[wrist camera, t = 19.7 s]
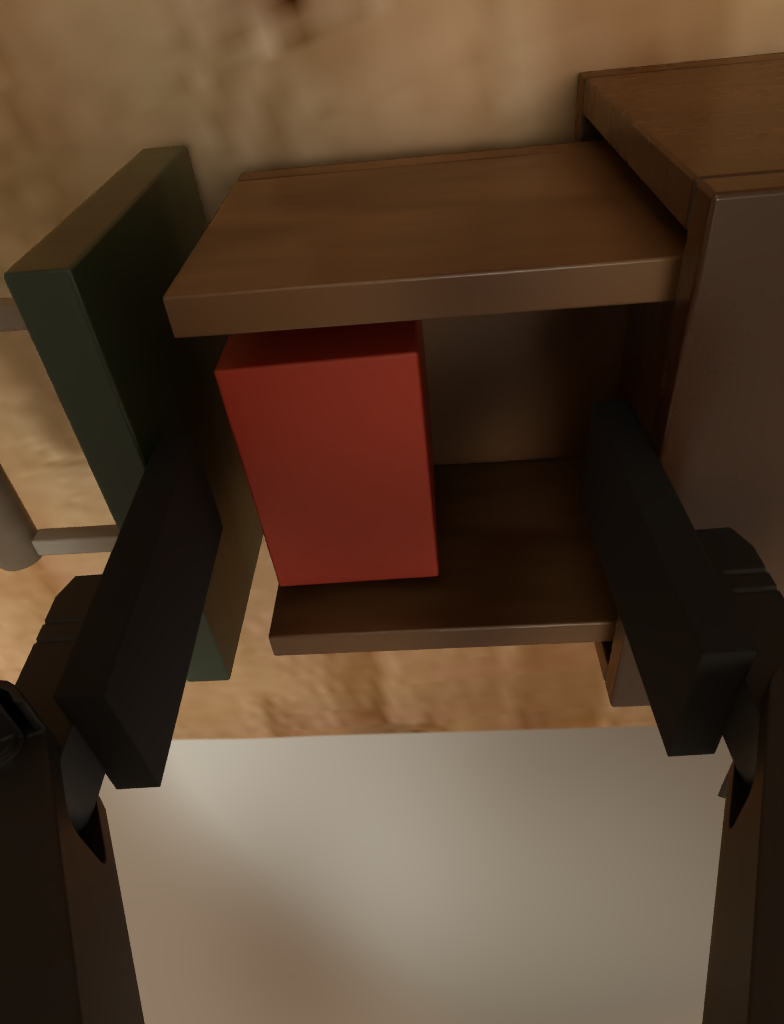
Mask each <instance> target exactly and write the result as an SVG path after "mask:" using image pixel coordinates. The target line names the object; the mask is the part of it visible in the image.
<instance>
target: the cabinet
mask: <svg viewBox="0 0 784 1024" xmlns="http://www.w3.org/2000/svg"><path fill="white" fill-rule="evenodd" d="M598 140H607V141H608V143H609V144H610V145H611V146H612V147H613V148H614V149H615V150H616V151H617V153H618V154H619V155H620V156H621V157H622V158H623V159H624V160H625V162H626V163H627V164H628V165H629V166H630V167H631V168H632V169H633V171H634V172H635V173H636V174H637V175H638V176H639V177H640V178H641V180H642V181H643V182H644V183H645V184H646V185H647V186H648V187H649V189H650V190H651V191H652V192H653V193H654V194H655V195H656V196H657V197H658V199H659V200H660V201H661V202H662V203H663V204H664V205H665V206H666V208H667V209H668V210H669V211H670V212H671V213H672V214H673V215H674V217H675V218H676V219H677V220H678V221H679V222H680V223H681V224H682V226H683V227H684V228H685V229H687V230H688V232H687V238H686V243H685V249H684V254H683V260H682V265H681V271H680V276H679V282H678V287H677V293H676V298H675V304H674V309H673V315H672V320H671V326H670V331H669V337H668V342H667V348H666V353H665V359H664V364H663V370H662V375H661V381H660V386H659V392H658V397H657V403H656V408H655V414H654V419H653V425H652V430H651V436H650V443H651V444H652V446H653V448H654V450H655V452H656V454H657V457H658V459H659V460H660V462H661V464H662V466H663V468H664V470H665V472H666V474H667V476H668V478H669V480H670V482H671V484H672V485H673V487H674V489H675V491H676V493H677V495H678V497H679V499H680V501H681V503H682V505H683V507H684V509H685V511H686V513H687V515H688V517H689V519H690V521H691V523H692V525H693V526H694V528H695V530H699V529H712V528H726V527H731V528H732V529H733V530H734V531H736V532H737V533H738V534H739V535H740V536H742V537H743V538H744V539H745V540H747V541H748V542H749V543H750V544H751V545H753V546H754V548H755V550H756V551H757V553H758V555H759V557H760V558H761V560H762V562H763V563H764V565H765V567H766V572H767V573H769V574H770V575H771V577H772V579H773V580H774V582H775V584H776V585H777V591H780V592H781V594H782V596H783V597H784V53H775V54H765V55H755V56H744V57H734V58H724V59H714V60H704V61H693V62H683V63H673V64H663V65H653V66H642V67H632V68H622V69H612V70H602V71H591V72H581V73H580V74H579V81H578V94H577V108H576V122H575V135H574V143H576V142H587V141H598ZM594 643H595V647H596V651H597V654H598V658H599V662H600V666H601V670H602V674H603V678H604V680H605V681H606V683H605V684H606V688H607V692H608V696H609V700H610V703H611V705H612V706H613V707H626V706H650V703H649V700H648V697H647V694H646V691H645V688H644V685H643V682H642V679H641V677H640V674H639V671H638V668H637V665H636V662H635V659H634V656H633V653H632V650H631V647H630V645H629V642H628V639H627V636H626V633H625V630H624V627H623V624H622V621H621V618H620V616H619V613H618V617H617V622H616V628H615V633H614V639H613V641H603V642H594Z"/></svg>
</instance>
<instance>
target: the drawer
mask: <svg viewBox="0 0 784 1024" xmlns="http://www.w3.org/2000/svg"><path fill="white" fill-rule="evenodd" d="M687 232H688V230H687V229H685V228H684V227H683V226H682V224H681V223H680V222H679V221H678V220H677V219H676V218H675V217H674V215H673V214H672V213H671V212H670V211H669V210H668V209H667V208H666V206H665V205H664V204H663V203H662V202H661V201H660V200H659V199H658V197H657V196H656V195H655V194H654V193H653V192H652V191H651V190H650V189H649V187H648V186H647V185H646V184H645V183H644V182H643V181H642V180H641V178H640V177H639V176H638V175H637V174H636V173H635V172H634V171H633V169H632V168H631V167H630V166H629V165H628V164H627V163H626V162H625V160H624V159H623V158H622V157H621V156H620V155H619V154H618V153H617V151H616V150H615V149H614V148H613V147H612V146H611V145H610V144H609V143H608V141H607V140H598V141H587V142H576V143H566V144H555V145H544V146H533V147H522V148H511V149H500V150H489V151H478V152H467V153H456V154H445V155H434V156H423V157H412V158H401V159H390V160H379V161H368V162H357V163H346V164H335V165H324V166H314V167H303V168H292V169H281V170H270V171H259V172H248V173H243V174H241V176H240V177H239V179H238V181H237V182H236V183H235V184H234V186H233V188H232V189H231V191H230V192H229V194H228V195H227V197H226V199H225V200H224V202H223V203H222V205H221V206H220V208H219V210H218V211H217V213H216V214H215V216H214V217H213V219H212V221H211V222H210V224H209V225H208V227H207V224H206V220H205V216H204V213H203V209H202V205H201V201H200V197H199V193H198V189H197V185H196V181H195V177H194V173H193V169H192V165H191V161H190V157H189V153H188V149H187V147H186V146H184V145H182V146H172V147H161V148H150V149H143V150H142V151H141V152H140V153H139V154H137V155H136V156H135V157H134V158H133V159H132V160H131V161H130V162H128V163H127V164H126V165H125V166H124V167H123V168H122V169H121V170H119V171H118V172H117V173H116V174H115V175H114V176H113V177H112V178H110V179H109V180H108V181H107V182H106V183H105V184H104V185H103V186H101V187H100V188H99V189H98V190H97V191H96V192H95V193H94V194H93V195H91V196H90V197H89V198H88V199H87V200H86V201H85V202H84V203H82V204H81V205H80V206H79V207H78V208H77V209H76V210H75V211H73V212H72V213H71V214H70V215H69V216H68V217H67V218H66V219H64V220H63V221H62V222H61V223H60V224H59V225H58V226H57V227H55V228H54V229H53V230H52V231H51V232H50V233H49V234H48V235H46V236H45V237H44V238H43V239H42V240H41V241H40V242H39V243H37V244H36V245H35V246H34V247H33V248H32V249H31V250H30V251H29V252H27V253H26V254H25V255H24V256H23V257H22V258H21V259H20V260H18V261H17V262H16V263H15V264H14V265H13V266H12V267H11V268H9V269H8V270H7V271H6V272H5V273H4V280H5V282H6V284H7V286H8V288H9V291H10V293H11V295H12V297H13V298H1V299H0V332H5V331H18V330H28V332H29V334H30V337H31V339H32V341H33V343H34V345H35V347H36V350H37V352H38V354H39V356H40V358H41V361H42V363H43V365H44V367H45V369H46V372H47V374H48V376H49V378H50V380H51V383H52V385H53V387H54V389H55V391H56V393H57V396H58V398H59V400H60V402H61V404H62V407H63V409H64V411H65V413H66V415H67V418H68V420H69V422H70V424H71V426H72V429H73V431H74V433H75V435H76V437H77V439H78V442H79V444H80V446H81V448H82V450H83V453H84V455H85V457H86V459H87V461H88V464H89V466H90V468H91V470H92V472H93V475H94V477H95V479H96V481H97V483H98V485H99V488H100V490H101V492H102V494H103V496H104V499H105V501H106V503H107V505H108V507H109V510H110V512H111V514H112V516H113V518H114V521H115V523H116V525H102V526H85V527H67V528H50V529H39V530H37V528H36V526H35V525H34V523H33V521H32V519H31V517H30V516H29V514H28V512H27V510H26V508H25V507H24V505H23V503H22V501H21V500H20V498H19V496H18V494H17V492H16V491H15V489H14V487H13V485H12V483H11V482H10V480H9V478H8V476H7V474H6V473H5V471H4V469H3V467H2V465H1V464H0V568H1V569H3V570H6V571H17V570H21V569H24V568H27V567H29V566H31V565H33V564H34V563H36V562H37V561H38V560H39V559H40V558H41V557H42V556H43V555H59V554H78V553H96V552H112V550H113V547H114V545H115V542H116V540H117V537H118V535H119V532H120V530H121V527H122V525H123V523H124V520H125V518H126V515H127V513H128V510H129V508H130V505H131V503H132V500H133V498H134V495H135V493H136V490H137V488H138V486H139V483H140V481H141V478H142V476H143V473H144V471H145V468H146V466H147V463H148V461H149V458H150V456H151V454H152V451H153V449H154V446H155V444H156V441H157V439H158V437H163V436H176V435H188V434H193V436H194V439H195V442H196V445H197V449H198V452H199V455H200V458H201V461H202V464H203V467H204V470H205V473H206V476H207V479H208V482H209V485H210V488H211V491H212V494H213V497H214V500H215V503H216V506H217V510H218V513H219V516H220V519H221V522H222V525H223V531H222V535H221V539H220V543H219V547H218V551H217V555H216V559H215V563H214V568H213V572H212V576H211V580H210V584H209V588H208V592H207V596H206V600H205V605H204V609H203V613H202V617H201V621H200V625H199V629H198V633H197V638H196V642H195V646H194V650H193V654H192V658H191V662H190V666H189V670H188V675H187V680H188V681H190V682H194V681H218V680H229V679H230V676H231V672H232V667H233V663H234V659H235V654H236V650H237V646H238V641H239V637H240V633H241V628H242V624H243V620H244V615H245V611H246V607H247V602H248V598H249V594H250V589H251V585H252V581H253V576H254V572H255V568H256V563H257V559H258V555H259V550H260V546H261V542H262V537H263V530H262V527H261V523H260V520H259V517H258V514H257V510H256V507H255V504H254V501H253V497H252V494H251V491H250V488H249V484H248V481H247V478H246V475H245V471H244V468H243V465H242V462H241V458H240V455H239V452H238V449H237V445H236V442H235V439H234V436H233V432H232V429H231V426H230V423H229V419H228V416H227V413H226V410H225V406H224V403H223V400H222V397H221V393H220V390H219V387H218V384H217V380H216V377H215V374H214V370H215V368H216V365H217V363H218V361H219V358H220V356H221V354H222V351H223V349H224V346H225V344H226V342H227V339H228V337H229V335H230V334H239V333H252V332H265V331H279V330H292V329H305V328H319V327H332V326H345V325H358V324H372V323H385V322H398V321H411V320H422V328H423V339H424V350H425V362H426V373H427V385H428V396H429V408H430V419H431V431H432V442H433V461H434V481H435V501H436V521H437V541H438V560H439V574H438V576H434V577H418V578H403V579H388V580H373V581H357V582H342V583H327V584H312V585H297V586H280V585H278V591H277V596H276V601H275V607H274V612H273V617H272V622H271V628H270V633H269V640H270V643H271V646H272V650H273V653H274V655H276V656H280V655H303V654H326V653H349V652H372V651H395V650H418V649H441V648H465V647H488V646H511V645H534V644H557V643H580V642H603V641H613V639H614V633H615V628H616V622H617V617H618V610H617V607H616V604H615V601H614V598H613V595H612V592H611V589H610V587H609V584H608V581H607V578H606V575H605V572H604V569H603V566H602V563H601V560H600V558H599V555H598V552H597V549H596V546H595V543H594V540H593V537H592V534H591V531H590V528H589V526H588V523H587V520H586V517H585V514H584V511H583V508H582V505H581V502H580V496H581V487H582V479H583V471H584V463H585V455H586V447H587V438H588V430H589V422H590V414H591V406H592V402H599V401H611V400H623V399H628V400H629V402H630V403H631V405H632V407H633V409H634V411H635V413H636V415H637V417H638V419H639V421H640V423H641V425H642V427H643V429H644V431H645V433H646V435H647V437H648V439H649V441H650V436H651V430H652V425H653V419H654V414H655V408H656V403H657V397H658V392H659V386H660V381H661V375H662V370H663V364H664V359H665V353H666V348H667V342H668V337H669V331H670V326H671V320H672V315H673V309H674V304H675V298H676V293H677V287H678V282H679V276H680V271H681V265H682V260H683V254H684V249H685V243H686V238H687Z"/></svg>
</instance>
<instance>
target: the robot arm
mask: <svg viewBox="0 0 784 1024" xmlns="http://www.w3.org/2000/svg"><path fill="white" fill-rule="evenodd" d="M580 502H581V505H582V508H583V511H584V514H585V517H586V520H587V523H588V526H589V528H590V531H591V534H592V537H593V540H594V543H595V546H596V549H597V552H598V555H599V558H600V560H601V563H602V566H603V569H604V572H605V575H606V578H607V581H608V584H609V587H610V589H611V592H612V595H613V598H614V601H615V604H616V607H617V610H618V613H619V616H620V618H621V621H622V624H623V627H624V630H625V633H626V636H627V639H628V642H629V645H630V647H631V650H632V653H633V656H634V659H635V662H636V665H637V668H638V671H639V674H640V677H641V679H642V682H643V685H644V688H645V691H646V694H647V697H648V700H649V703H650V706H651V708H652V711H653V714H654V717H655V720H656V723H657V726H658V729H659V732H660V734H661V737H662V740H663V743H664V746H665V749H666V752H667V755H668V756H685V755H701V754H714V753H715V751H716V749H717V747H718V744H719V742H720V739H721V737H722V735H723V737H724V740H725V742H726V744H727V747H728V749H729V751H730V754H731V756H732V759H733V762H732V764H731V767H730V769H729V771H728V773H727V775H726V777H725V779H724V782H723V784H722V786H721V789H720V792H719V794H718V796H720V797H723V798H725V797H726V801H725V810H724V820H723V829H722V839H721V849H720V859H719V869H718V877H717V887H716V897H715V907H714V916H713V925H712V936H711V945H710V954H709V964H708V973H707V984H706V993H705V1002H704V1012H703V1022H702V1024H784V597H783V596H782V594H781V592H780V591H777V585H776V584H775V582H774V580H773V579H772V577H771V575H770V574H769V573H767V572H766V567H765V565H764V563H763V562H762V560H761V558H760V557H759V555H758V553H757V551H756V550H755V548H754V546H753V545H751V544H750V543H749V542H748V541H747V540H745V539H744V538H743V537H742V536H740V535H739V534H738V533H737V532H736V531H734V530H733V529H732V528H731V527H726V528H712V529H699V530H695V528H694V526H693V525H692V523H691V521H690V519H689V517H688V515H687V513H686V511H685V509H684V507H683V505H682V503H681V501H680V499H679V497H678V495H677V493H676V491H675V489H674V487H673V485H672V484H671V482H670V480H669V478H668V476H667V474H666V472H665V470H664V468H663V466H662V464H661V462H660V460H659V459H658V457H657V454H656V452H655V450H654V448H653V446H652V444H651V443H650V441H649V439H648V437H647V435H646V433H645V431H644V429H643V427H642V425H641V423H640V421H639V419H638V417H637V415H636V413H635V411H634V409H633V407H632V405H631V403H630V402H629V400H628V399H623V400H611V401H599V402H592V406H591V414H590V422H589V430H588V438H587V447H586V455H585V463H584V471H583V479H582V487H581V496H580ZM222 531H223V525H222V522H221V519H220V516H219V513H218V510H217V506H216V503H215V500H214V497H213V494H212V491H211V488H210V485H209V482H208V479H207V476H206V473H205V470H204V467H203V464H202V461H201V458H200V455H199V452H198V449H197V445H196V442H195V439H194V436H193V434H188V435H176V436H163V437H158V439H157V441H156V444H155V446H154V449H153V451H152V454H151V456H150V458H149V461H148V463H147V466H146V468H145V471H144V473H143V476H142V478H141V481H140V483H139V486H138V488H137V490H136V493H135V495H134V498H133V500H132V503H131V505H130V508H129V510H128V513H127V515H126V518H125V520H124V523H123V525H122V527H121V530H120V532H119V535H118V537H117V540H116V542H115V545H114V547H113V550H112V552H111V555H110V557H109V559H108V562H107V564H106V567H105V569H104V572H103V574H100V575H86V576H75V577H74V578H73V579H72V580H71V581H70V583H69V584H68V585H67V586H66V587H65V588H64V589H63V590H62V591H61V592H60V593H59V594H58V595H57V596H56V597H55V600H54V602H53V604H52V606H51V608H50V610H49V613H48V615H47V617H46V619H45V625H43V626H42V628H41V630H40V632H39V634H38V636H37V643H36V644H34V645H33V647H32V650H31V652H30V654H29V656H28V658H27V660H26V663H25V665H24V667H23V669H22V671H21V673H20V676H19V678H18V680H17V682H16V684H15V685H13V684H12V683H10V682H8V681H3V680H0V1024H145V1023H144V1018H143V1012H142V1008H141V1002H140V996H139V990H138V985H137V980H136V974H135V968H134V963H133V957H132V952H131V946H130V941H129V935H128V930H127V924H126V919H125V914H124V908H123V902H122V897H121V891H120V886H119V880H118V875H117V870H116V864H115V858H114V853H113V848H112V842H111V837H110V831H109V826H108V820H107V814H106V809H105V807H104V805H103V803H102V801H101V799H100V797H99V796H98V795H99V791H100V788H101V785H102V782H103V778H104V775H105V773H106V775H107V776H108V778H109V779H110V780H111V782H112V783H113V784H114V786H115V788H116V789H130V788H147V787H160V785H161V781H162V777H163V773H164V769H165V765H166V760H167V757H168V753H169V748H170V744H171V740H172V736H173V732H174V728H175V724H176V720H177V716H178V712H179V707H180V703H181V699H182V695H183V691H184V687H185V683H186V679H187V675H188V670H189V666H190V662H191V658H192V654H193V650H194V646H195V642H196V638H197V633H198V629H199V625H200V621H201V617H202V613H203V609H204V605H205V600H206V596H207V592H208V588H209V584H210V580H211V576H212V572H213V568H214V563H215V559H216V555H217V551H218V547H219V543H220V539H221V535H222Z"/></svg>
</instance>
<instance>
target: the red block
mask: <svg viewBox="0 0 784 1024" xmlns="http://www.w3.org/2000/svg"><path fill="white" fill-rule="evenodd" d="M214 374H215V377H216V380H217V384H218V387H219V390H220V393H221V397H222V400H223V403H224V406H225V410H226V413H227V416H228V419H229V423H230V426H231V429H232V432H233V436H234V439H235V442H236V445H237V449H238V452H239V455H240V458H241V462H242V465H243V468H244V471H245V475H246V478H247V481H248V484H249V488H250V491H251V494H252V497H253V501H254V504H255V507H256V510H257V514H258V517H259V520H260V523H261V527H262V530H263V533H264V536H265V540H266V543H267V546H268V549H269V553H270V556H271V559H272V562H273V566H274V569H275V572H276V575H277V579H278V582H279V585H280V586H297V585H312V584H327V583H342V582H357V581H373V580H388V579H403V578H418V577H434V576H438V574H439V560H438V541H437V521H436V501H435V481H434V461H433V442H432V431H431V419H430V408H429V396H428V385H427V373H426V362H425V350H424V339H423V328H422V320H411V321H398V322H385V323H372V324H358V325H345V326H332V327H319V328H305V329H292V330H279V331H265V332H252V333H239V334H230V335H229V337H228V339H227V342H226V344H225V346H224V349H223V351H222V354H221V356H220V358H219V361H218V363H217V365H216V368H215V370H214Z"/></svg>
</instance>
